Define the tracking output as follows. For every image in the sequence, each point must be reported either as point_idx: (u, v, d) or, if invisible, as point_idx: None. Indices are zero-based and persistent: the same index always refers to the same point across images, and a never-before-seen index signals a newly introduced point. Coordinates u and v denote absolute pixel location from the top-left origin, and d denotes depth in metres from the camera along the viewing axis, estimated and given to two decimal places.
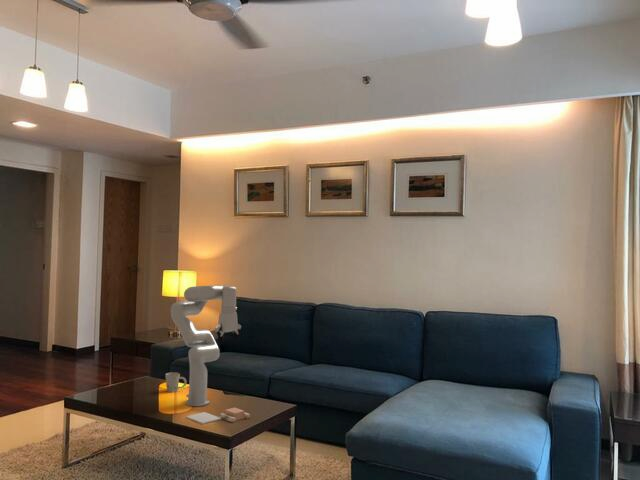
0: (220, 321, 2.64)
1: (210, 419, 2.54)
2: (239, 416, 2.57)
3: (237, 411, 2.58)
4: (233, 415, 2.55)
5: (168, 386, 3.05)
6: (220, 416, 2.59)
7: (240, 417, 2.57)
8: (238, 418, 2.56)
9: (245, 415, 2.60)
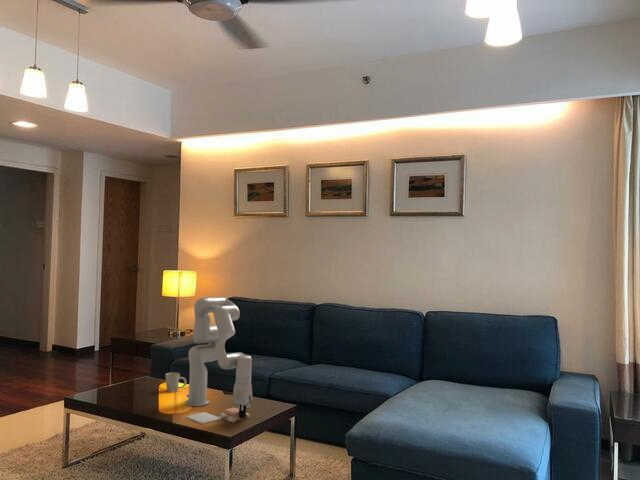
0: (248, 394, 2.52)
1: (210, 419, 2.54)
2: None
3: (237, 411, 2.58)
4: (233, 415, 2.56)
5: (168, 386, 3.05)
6: (220, 416, 2.59)
7: None
8: (238, 418, 2.56)
9: None
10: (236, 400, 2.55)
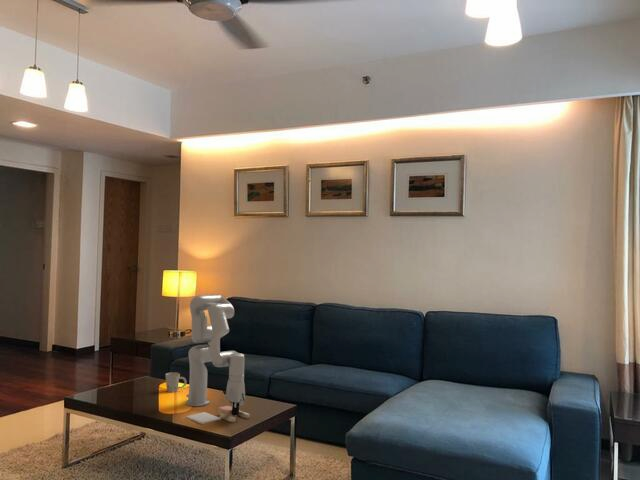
0: (241, 391, 2.56)
1: (210, 419, 2.54)
2: None
3: (230, 409, 2.61)
4: (226, 412, 2.59)
5: (168, 386, 3.05)
6: (220, 416, 2.59)
7: None
8: None
9: (245, 415, 2.60)
10: (229, 398, 2.59)
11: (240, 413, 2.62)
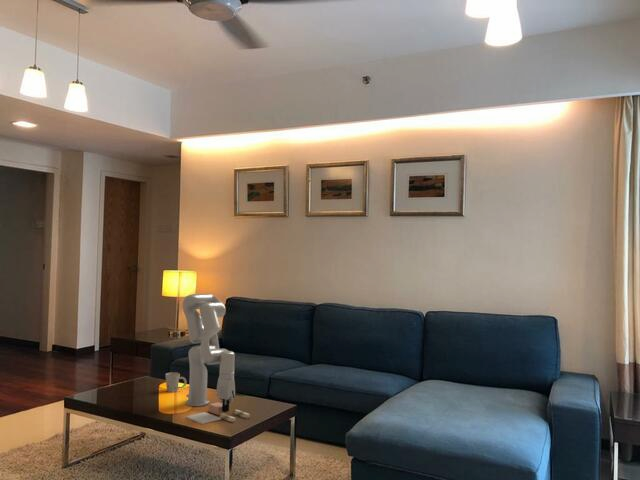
0: (231, 388, 2.61)
1: (210, 419, 2.54)
2: None
3: (220, 405, 2.67)
4: (217, 409, 2.64)
5: (168, 386, 3.05)
6: (220, 416, 2.59)
7: None
8: (221, 412, 2.65)
9: (245, 415, 2.60)
10: (219, 395, 2.64)
11: (240, 413, 2.62)
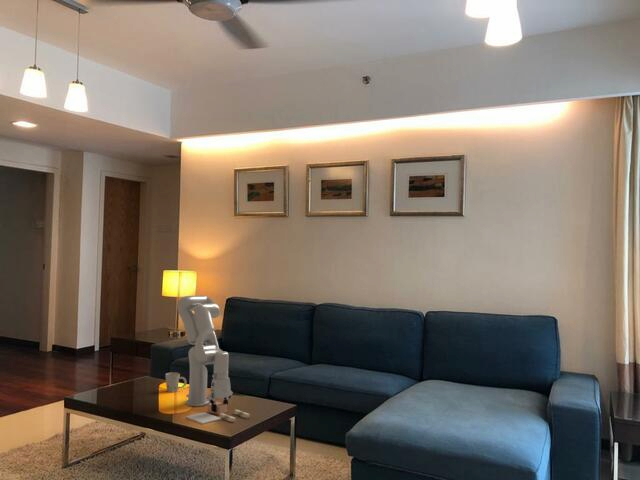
0: None
1: (210, 419, 2.54)
2: (223, 410, 2.67)
3: (221, 405, 2.67)
4: (218, 408, 2.65)
5: (168, 386, 3.05)
6: (220, 416, 2.59)
7: (224, 410, 2.67)
8: (222, 411, 2.66)
9: (245, 415, 2.60)
10: (220, 396, 2.65)
11: (240, 413, 2.62)
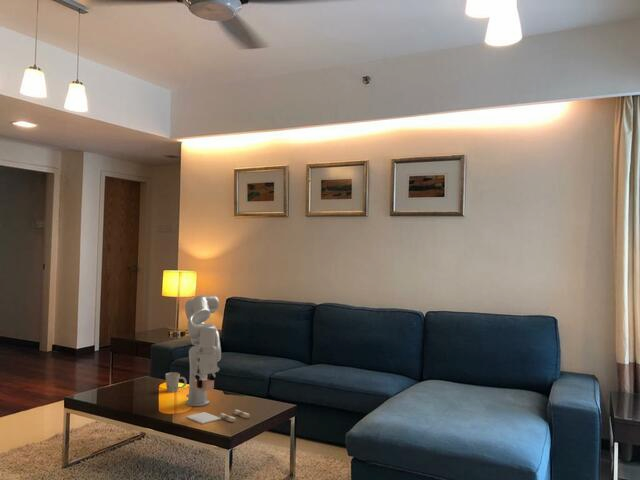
0: None
1: (210, 419, 2.54)
2: (209, 386, 2.56)
3: (207, 381, 2.57)
4: (204, 384, 2.54)
5: (168, 386, 3.05)
6: (220, 416, 2.59)
7: (210, 387, 2.57)
8: (208, 388, 2.56)
9: (245, 415, 2.60)
10: (206, 371, 2.55)
11: (240, 413, 2.62)
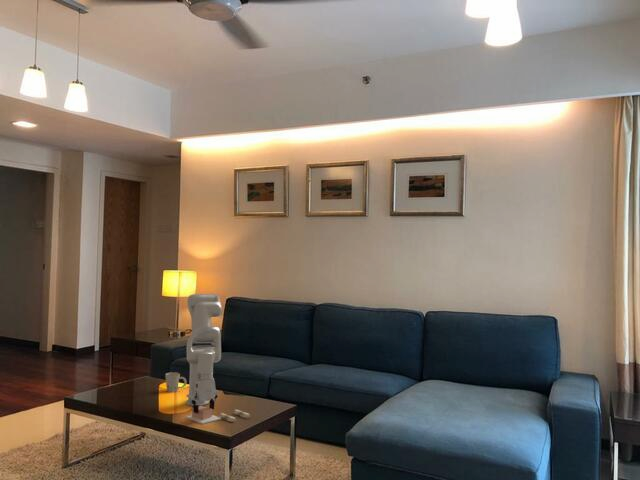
0: None
1: (210, 419, 2.54)
2: (207, 415, 2.56)
3: (205, 409, 2.56)
4: (201, 413, 2.54)
5: (168, 386, 3.05)
6: (220, 416, 2.59)
7: (208, 415, 2.56)
8: (206, 416, 2.55)
9: (245, 415, 2.60)
10: (204, 397, 2.54)
11: (240, 413, 2.62)
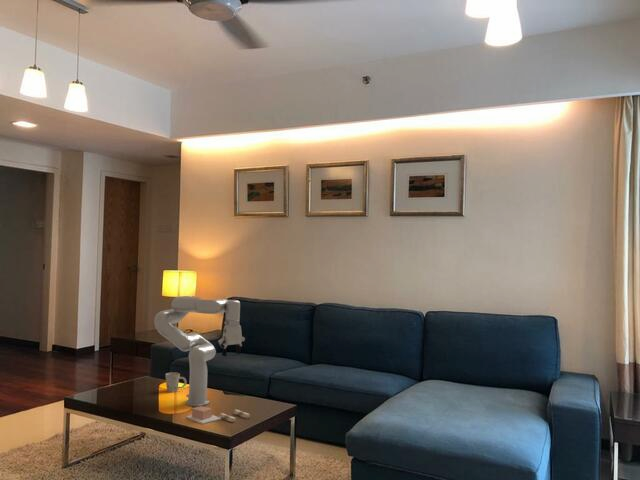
0: None
1: (210, 419, 2.54)
2: (207, 415, 2.56)
3: (205, 409, 2.56)
4: (201, 413, 2.54)
5: (168, 386, 3.05)
6: (220, 416, 2.59)
7: (208, 415, 2.56)
8: (206, 416, 2.55)
9: (245, 415, 2.60)
10: (232, 342, 2.75)
11: (240, 413, 2.62)
